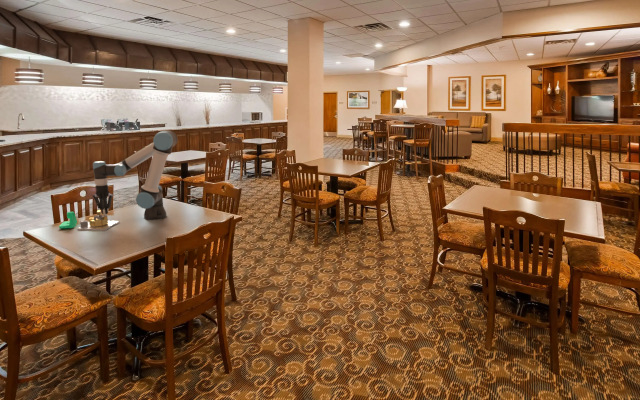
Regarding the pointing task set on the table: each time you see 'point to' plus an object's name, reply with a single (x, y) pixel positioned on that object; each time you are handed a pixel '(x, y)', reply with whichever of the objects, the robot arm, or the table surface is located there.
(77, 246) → the table surface
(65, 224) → the camera mount
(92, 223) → the gold lumpy cluster
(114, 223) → the housing
